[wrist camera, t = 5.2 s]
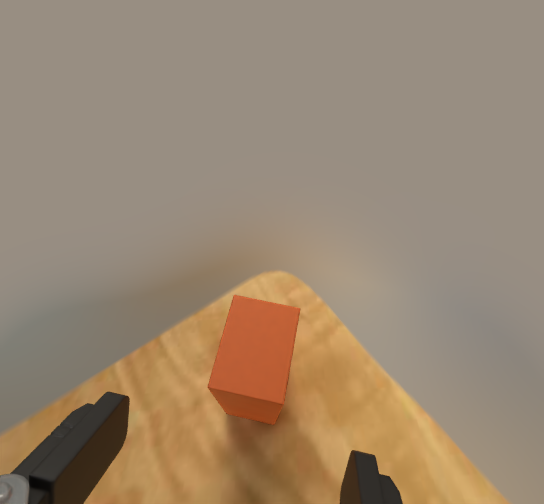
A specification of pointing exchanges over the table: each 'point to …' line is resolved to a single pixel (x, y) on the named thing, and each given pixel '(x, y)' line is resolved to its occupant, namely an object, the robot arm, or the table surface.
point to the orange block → (254, 359)
